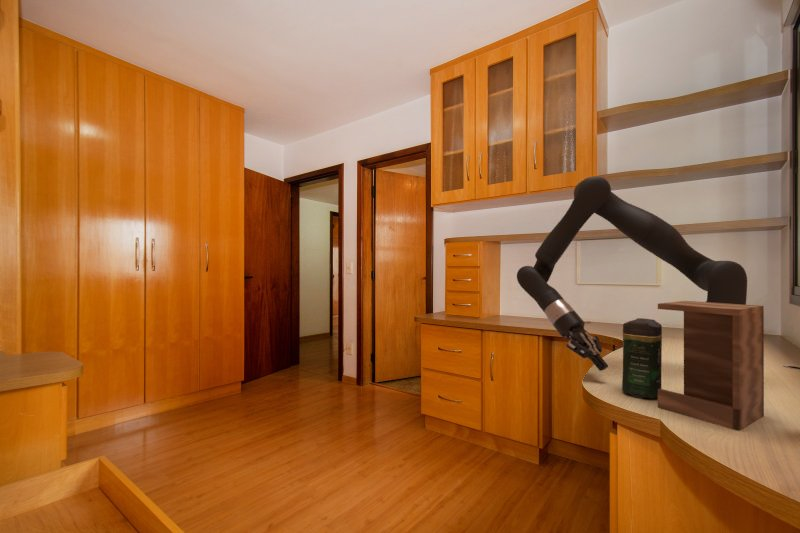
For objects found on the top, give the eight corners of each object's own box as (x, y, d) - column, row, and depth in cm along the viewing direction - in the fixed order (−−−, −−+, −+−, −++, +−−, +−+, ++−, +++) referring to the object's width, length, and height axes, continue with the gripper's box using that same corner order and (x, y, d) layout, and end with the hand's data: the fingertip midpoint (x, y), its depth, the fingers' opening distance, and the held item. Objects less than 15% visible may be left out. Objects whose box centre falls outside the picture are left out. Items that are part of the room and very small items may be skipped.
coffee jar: (657, 402, 86) (657, 322, 86) (618, 394, 91) (618, 319, 92) (665, 392, 93) (665, 318, 93) (629, 385, 98) (628, 315, 98)
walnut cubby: (685, 396, 90) (685, 300, 90) (763, 415, 78) (763, 305, 78) (657, 407, 83) (657, 303, 83) (739, 430, 71) (739, 309, 71)
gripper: (557, 311, 105) (600, 364, 94) (585, 308, 112) (627, 358, 101) (541, 327, 109) (580, 379, 99) (569, 324, 116) (608, 372, 106)
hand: (604, 368), depth 100 cm, fingers closed
